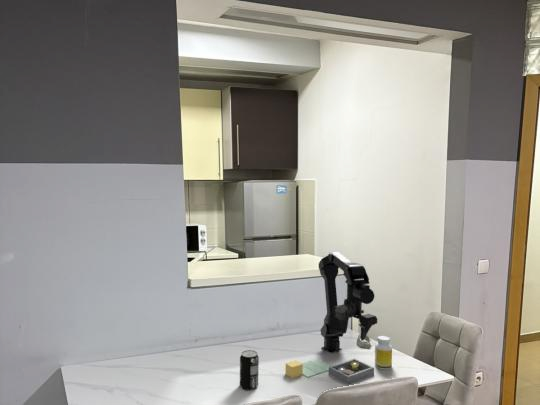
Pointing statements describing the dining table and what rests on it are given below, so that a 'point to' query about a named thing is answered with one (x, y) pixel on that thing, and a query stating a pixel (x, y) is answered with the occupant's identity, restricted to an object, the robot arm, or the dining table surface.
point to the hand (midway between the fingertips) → (353, 336)
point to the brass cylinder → (354, 366)
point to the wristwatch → (363, 342)
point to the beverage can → (249, 370)
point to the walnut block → (348, 372)
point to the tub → (362, 373)
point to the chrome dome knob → (341, 369)
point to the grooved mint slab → (306, 368)
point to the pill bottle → (383, 353)
